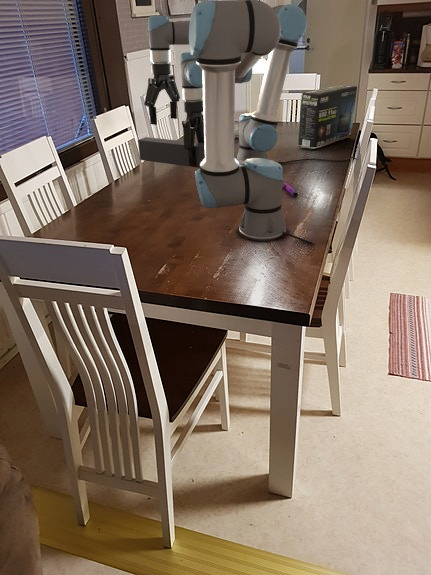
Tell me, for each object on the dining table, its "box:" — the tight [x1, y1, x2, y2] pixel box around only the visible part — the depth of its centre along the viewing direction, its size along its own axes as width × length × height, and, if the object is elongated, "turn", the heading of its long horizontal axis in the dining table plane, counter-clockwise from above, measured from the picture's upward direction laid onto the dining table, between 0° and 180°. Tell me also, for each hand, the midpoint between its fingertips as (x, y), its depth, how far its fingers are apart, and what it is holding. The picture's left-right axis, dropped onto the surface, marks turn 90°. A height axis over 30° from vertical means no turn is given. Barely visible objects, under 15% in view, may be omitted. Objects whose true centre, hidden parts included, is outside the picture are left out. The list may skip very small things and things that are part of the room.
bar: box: [137, 136, 205, 169], centre depth 181 cm, size 29×5×8 cm, turn 60°
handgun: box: [282, 179, 299, 198], centre depth 183 cm, size 21×8×2 cm, turn 11°
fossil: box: [234, 122, 239, 140], centre depth 266 cm, size 18×11×15 cm
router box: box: [297, 84, 358, 151], centre depth 238 cm, size 36×11×27 cm, turn 134°
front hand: (197, 164), depth 177 cm, fingers closed on bar, 5 cm apart
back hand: (164, 121), depth 184 cm, fingers open, 13 cm apart
